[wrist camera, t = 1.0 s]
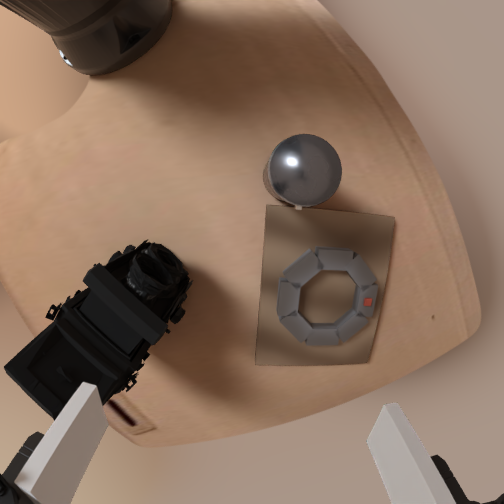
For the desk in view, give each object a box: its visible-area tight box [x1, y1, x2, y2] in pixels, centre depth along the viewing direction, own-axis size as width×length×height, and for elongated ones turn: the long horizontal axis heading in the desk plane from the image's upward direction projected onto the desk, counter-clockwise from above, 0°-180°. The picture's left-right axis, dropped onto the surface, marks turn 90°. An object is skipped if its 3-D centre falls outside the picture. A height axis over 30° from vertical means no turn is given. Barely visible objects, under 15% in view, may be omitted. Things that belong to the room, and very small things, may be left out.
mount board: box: [255, 205, 395, 366], centre depth 29 cm, size 18×14×3 cm
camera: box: [4, 240, 193, 421], centre depth 21 cm, size 10×14×20 cm
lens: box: [263, 134, 342, 210], centre depth 24 cm, size 6×5×10 cm
